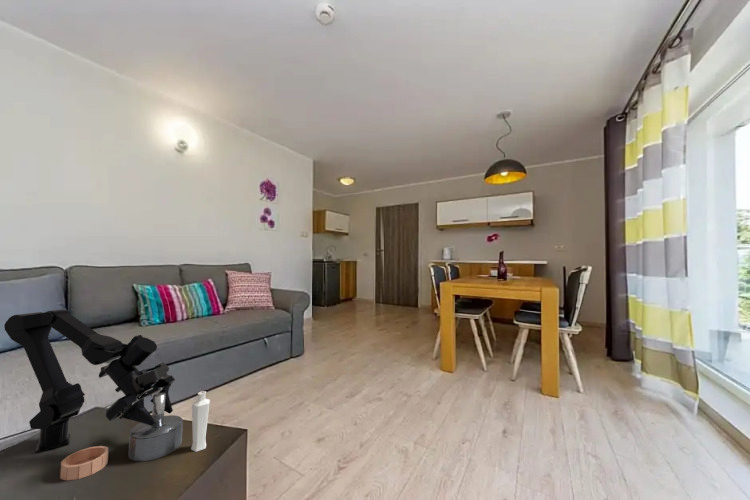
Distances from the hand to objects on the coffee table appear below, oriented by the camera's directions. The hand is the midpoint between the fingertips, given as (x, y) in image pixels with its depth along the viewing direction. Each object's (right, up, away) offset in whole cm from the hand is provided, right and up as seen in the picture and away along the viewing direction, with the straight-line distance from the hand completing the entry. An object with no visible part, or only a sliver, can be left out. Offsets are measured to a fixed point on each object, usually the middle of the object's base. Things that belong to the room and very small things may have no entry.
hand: (162, 417), depth 85 cm
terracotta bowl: (-13, -7, -10) cm, 18 cm away
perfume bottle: (+11, -8, 0) cm, 14 cm away
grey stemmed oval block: (-1, -8, -1) cm, 8 cm away
